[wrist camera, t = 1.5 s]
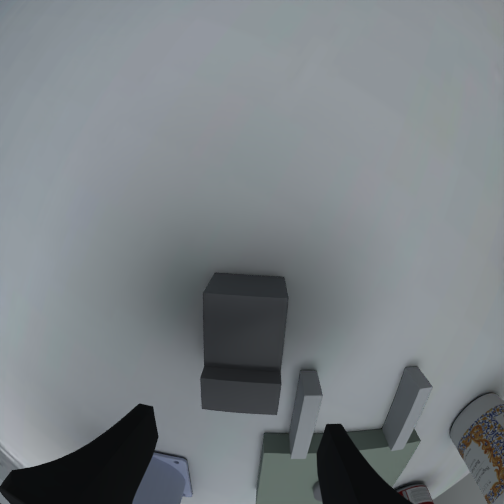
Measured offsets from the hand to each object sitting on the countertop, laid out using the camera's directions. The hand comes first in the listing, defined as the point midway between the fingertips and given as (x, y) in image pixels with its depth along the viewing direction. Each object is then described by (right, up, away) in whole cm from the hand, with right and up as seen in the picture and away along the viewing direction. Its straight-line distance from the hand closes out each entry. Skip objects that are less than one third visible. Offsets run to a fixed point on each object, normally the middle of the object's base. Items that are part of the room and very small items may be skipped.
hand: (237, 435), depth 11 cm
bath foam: (+25, -10, +11) cm, 29 cm away
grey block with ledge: (0, +3, +9) cm, 10 cm away
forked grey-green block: (+9, -10, +12) cm, 17 cm away
